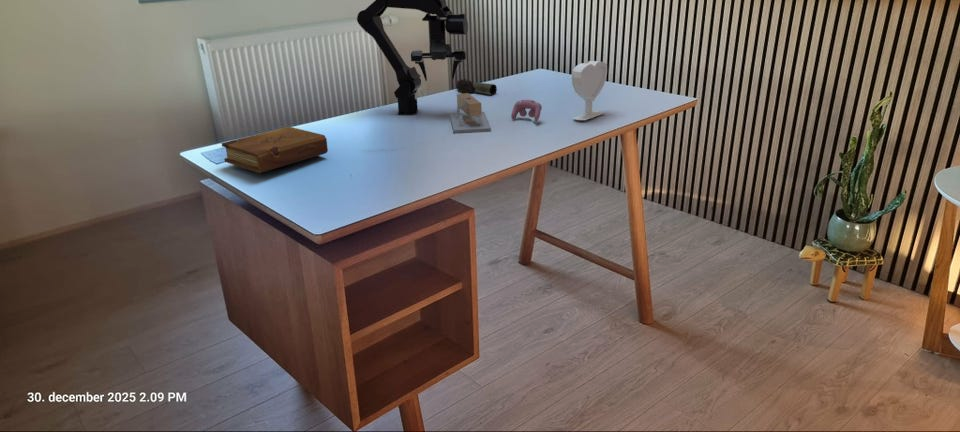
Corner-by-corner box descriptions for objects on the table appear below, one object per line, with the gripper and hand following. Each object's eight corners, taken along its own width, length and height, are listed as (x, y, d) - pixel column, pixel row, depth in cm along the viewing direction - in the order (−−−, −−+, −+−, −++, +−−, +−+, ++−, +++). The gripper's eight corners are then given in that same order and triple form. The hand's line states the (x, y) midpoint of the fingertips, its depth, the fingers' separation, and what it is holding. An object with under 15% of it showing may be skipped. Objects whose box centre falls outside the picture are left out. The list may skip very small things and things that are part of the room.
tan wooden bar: (469, 116, 215) (469, 104, 214) (457, 105, 230) (456, 93, 228) (481, 115, 216) (481, 102, 215) (468, 104, 231) (468, 92, 229)
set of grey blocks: (459, 126, 218) (459, 115, 217) (457, 116, 230) (456, 106, 229) (482, 125, 219) (482, 114, 217) (479, 115, 231) (478, 105, 229)
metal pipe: (497, 94, 262) (496, 79, 259) (487, 97, 257) (486, 82, 255) (462, 91, 272) (461, 77, 270) (451, 94, 267) (450, 80, 265)
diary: (261, 174, 184) (257, 154, 182) (224, 162, 195) (221, 143, 193) (328, 153, 200) (326, 134, 198) (291, 143, 211) (288, 125, 209)
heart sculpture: (581, 121, 223) (582, 66, 216) (569, 119, 226) (570, 65, 219) (607, 112, 233) (609, 59, 226) (595, 110, 236) (597, 58, 229)
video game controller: (541, 122, 226) (543, 101, 225) (537, 121, 222) (539, 100, 221) (514, 119, 230) (516, 99, 229) (509, 119, 226) (511, 98, 225)
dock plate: (453, 133, 214) (453, 130, 214) (450, 116, 234) (450, 113, 234) (490, 131, 215) (490, 127, 215) (484, 114, 235) (484, 111, 235)
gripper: (409, 38, 220) (412, 86, 226) (466, 36, 221) (467, 84, 227) (410, 34, 230) (412, 79, 236) (464, 32, 231) (465, 77, 237)
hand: (439, 80), depth 234 cm, fingers open, 9 cm apart
